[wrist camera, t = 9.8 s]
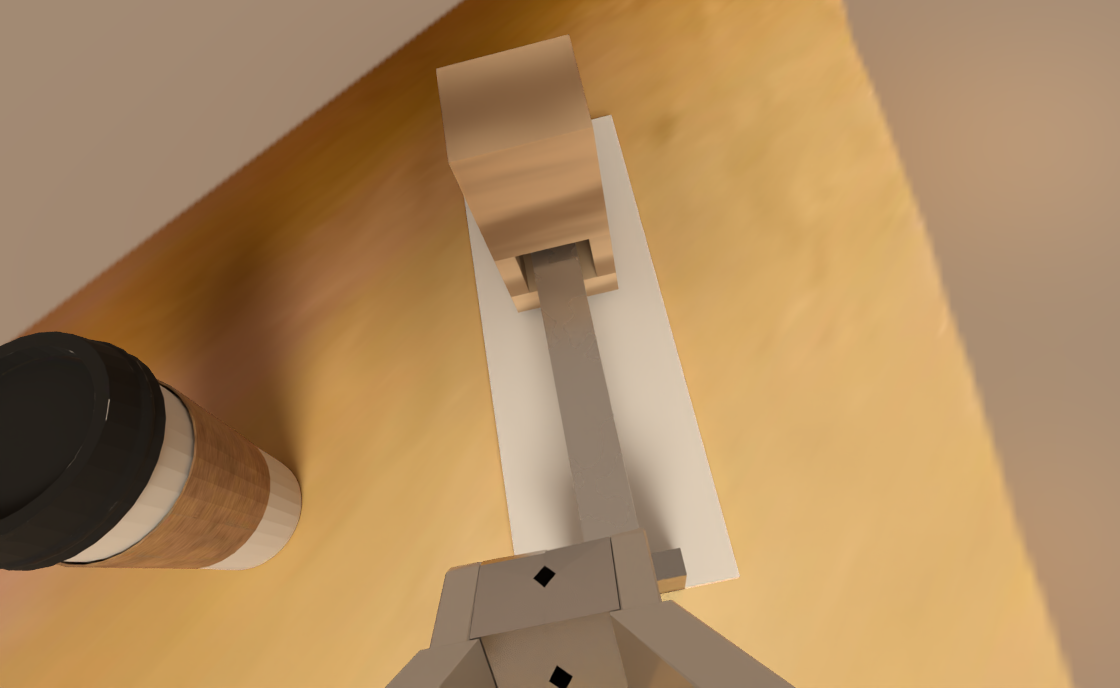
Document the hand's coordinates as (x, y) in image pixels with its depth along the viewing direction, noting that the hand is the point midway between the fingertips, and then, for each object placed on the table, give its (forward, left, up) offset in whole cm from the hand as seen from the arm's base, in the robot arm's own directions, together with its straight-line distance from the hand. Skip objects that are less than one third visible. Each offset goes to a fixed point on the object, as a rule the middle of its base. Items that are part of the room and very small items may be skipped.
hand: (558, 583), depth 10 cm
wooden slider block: (0, +19, -22) cm, 29 cm away
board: (0, +15, -23) cm, 27 cm away
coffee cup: (-19, +9, -23) cm, 31 cm away
